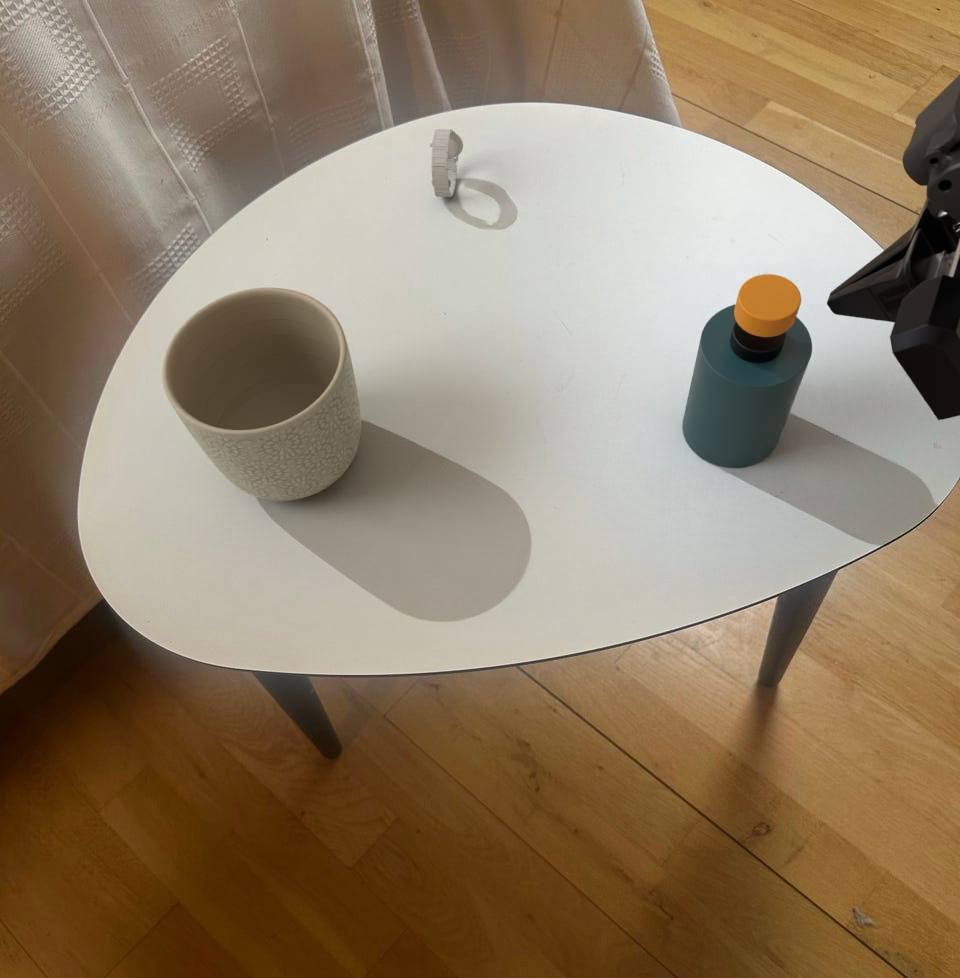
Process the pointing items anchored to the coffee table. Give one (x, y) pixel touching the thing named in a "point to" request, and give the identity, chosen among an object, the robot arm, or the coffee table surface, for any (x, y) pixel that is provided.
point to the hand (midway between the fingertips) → (831, 304)
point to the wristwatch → (445, 161)
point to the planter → (267, 391)
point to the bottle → (742, 390)
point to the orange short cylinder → (767, 305)
